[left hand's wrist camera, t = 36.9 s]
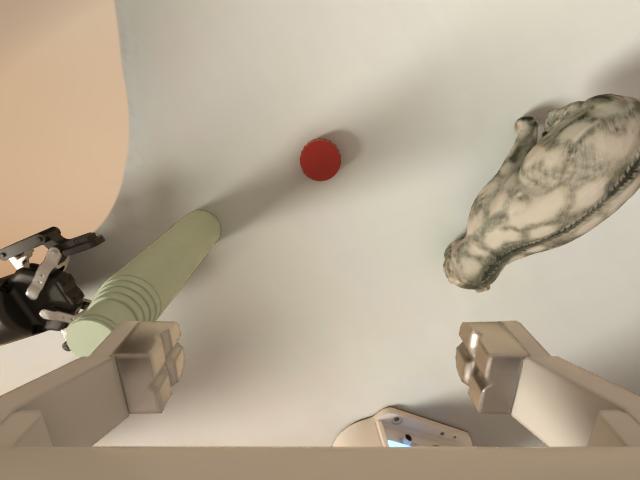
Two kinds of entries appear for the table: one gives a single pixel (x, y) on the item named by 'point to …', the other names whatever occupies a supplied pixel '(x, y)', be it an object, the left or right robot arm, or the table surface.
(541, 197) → the figurine
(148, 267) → the bottle
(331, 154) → the cap
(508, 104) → the table surface
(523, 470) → the left robot arm
